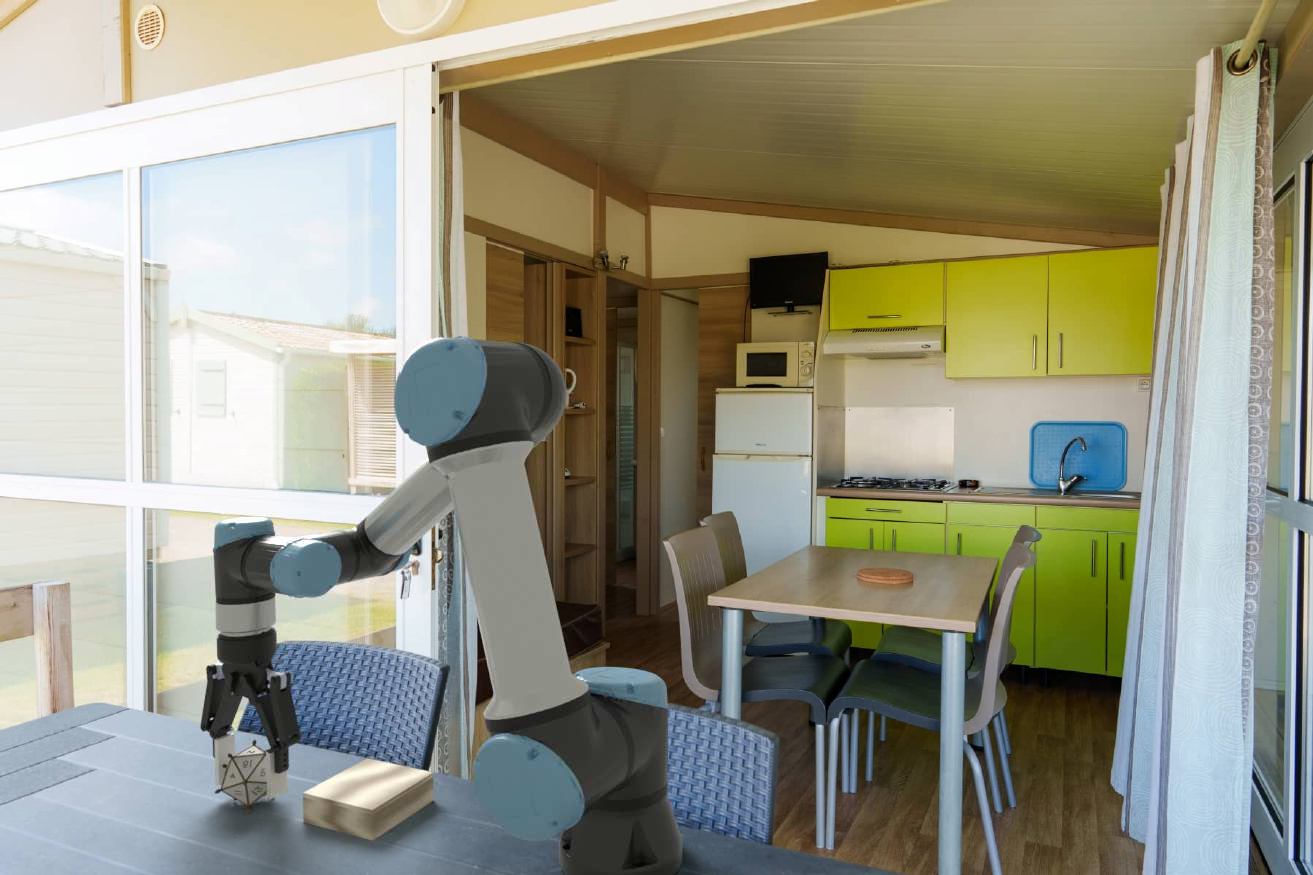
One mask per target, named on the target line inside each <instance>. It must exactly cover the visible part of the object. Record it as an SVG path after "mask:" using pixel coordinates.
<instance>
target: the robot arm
mask: <svg viewBox="0 0 1313 875" xmlns="http://www.w3.org/2000/svg"><path fill="white" fill-rule="evenodd" d="M566 403H567V383H566V381H565V377H564V374H563V372H562V370H561V368H560V366H559V365H558V364H557V362H556V361H555V359H554V358H552V357H551V356H550V355H549V354H548V353H547V352H545V351H544V350H542V349H540V348H539V347H537V346H535V345H532V344H528V343H523V342H509V341H508V342H507V341H506V342H505V341H497V340H488V339H487V340H486V339H477V338H471V337H469V336H459V335H458V336H456V337H436V338H435V337H434V338H432V339H430V340H427V341H424V342H423V343H421V344H419V345H418V346H416V347H415V348H414V349H413V350H412V351H411V353H409V355H408V356H407V357H406V359H405V360H404V362H403V366H402V369H401V370H400V371H398V374H397V377H396V380H395V384H394V391H393V406H394V413H395V417H396V421H397V423H398V425H399V427H400V429H401V431H402V432H403V433H404V434H405V435H408V438H409V439H410V440H411V441H412V442H414V443H417V444H418V445H421V446H425V449H426V453H427V458H426V459H425V460H424V461H423V462H422V463H421V464H420V465H419V466H418V467H417V468H416V469H415V470H413V471H412V472H411V473H410V474H409V475H408V476H407V477H406V478H405V479H404V480H403V481H402V482H401V483H400V484H399V485H398V486H397V487H396V488H395V489H394V490H393V491H391V493H390V494H389V495H388V496H387V497H386V498H385V499H384V500H382V502H381V503H379V504H378V505H377V507H375V508H374V510H372V511H371V512H370V513H369V514H368V515H367V516H366V517H365V518H363V520H361V521H360V522H359V523H358V524H357V525H356V526H353V527H350V528H343V529H339V530H338V529H337V530H332V531H327V532H319V533H313V534H307V535H301V536H300V535H299V536H277V535H276V531H275V527H274V522H273V521H272V520H271V519H270V518H268V517H263V516H249V517H248V516H246V517H244V516H243V517H234V518H233V517H232V518H228V519H223V520H221V521H219V522H217V523H216V525H215V527H214V535H213V536H214V541H213V544H214V545H213V548H212V553H213V569H214V590H215V592H214V593H215V629H216V631H218V633H217V635H216V657H217V660H218V662H215V663H211V664H208V665H207V666H206V668H205V669H206V670H205V672H206V680H207V682H206V688H205V694H204V700H203V708H202V714H201V720H200V721H201V722H200V727H199V728H200V730H201V731H202V732H203V733H204V732H208V733H209V734H208V735H209V737H211V738H212V755H213V759H214V771H215V773H214V774H215V778H214V780H215V781H214V782H215V786H218V787H221V785H222V782H223V778H224V774H225V771H226V768H223V766H222V765H223V764H226V765H228V763H229V761H230V759H231V758H229V757H228V754H232V756H235V755H236V743H235V742H236V741H235V740H236V739H235V738H236V736H235V735H236V734H235V733H234V732H232V731H234V729H235V728H234V727H233V726H232V725H233V723H234V721H235V718H236V715H237V712H238V710H239V708H240V705H241V702H242V700H243V698H246V699H248V702H249V704H250V705H251V706H253V707H254V708H255V711H256V714H257V716H258V719H259V722H260V724H261V726H262V729H263V731H264V734H265V737H266V740H267V741H268V744H269V746H270V747H269V748H268V749H269V750H268V749H266V750H267V751H266V750H265V751H266V771H267V795H266V798H267V799H271V800H272V799H273V798H276V797H278V796H280V795H281V794H284V793H286V792H288V770H289V768H290V757H289V752H290V750H289V748H290V747H291V746H294V745H296V744H298V743H300V742H301V739H302V737H301V733H300V727H299V724H298V723H299V722H298V718H297V713H296V709H295V704H294V697H293V694H292V690H291V689H292V688H291V682H292V675H291V674H292V673H291V672H290V671H289V670H286V671H283V672H279V671H276V670H275V669H274V666H273V662H272V659H273V657H274V656H275V654H276V653H277V651H278V641H277V639H278V637H277V629H276V628H275V627H274V625H275V624H276V623H277V614H276V613H277V612H276V594H279V595H285V596H288V597H291V598H292V597H293V598H295V599H296V598H297V599H303V598H314V599H315V598H319V597H322V596H324V595H326V594H327V593H328V592H329V591H330V590H331V589H333V588H334V587H335V586H340V585H343V584H346V583H351V582H357V581H361V580H362V581H363V580H366V579H370V578H371V579H372V578H375V577H376V578H377V577H384V576H387V575H389V574H391V573H393V572H396V571H399V570H401V569H403V568H405V566H406V565H407V564H409V562H410V557H411V555H412V553H413V546H414V545H415V544H416V543H417V542H419V540H421V539H422V538H423V537H424V536H425V535H426V534H427V533H429V532H430V530H432V529H433V528H434V527H435V526H437V524H438V523H440V522H442V520H443V519H444V518H445V517H446V516H447V515H449V514H450V513H451V512H452V511H453V510H454V516H455V520H456V521H455V522H456V524H457V530H458V534H459V539H460V544H461V549H462V552H463V553H462V554H463V558H464V563H465V566H466V572H467V576H468V581H469V585H470V591H471V595H472V598H473V603H474V604H473V605H474V609H475V613H476V617H477V622H478V626H479V632H480V635H481V636H480V637H481V640H482V645H483V650H484V654H485V658H486V663H487V669H488V672H489V678H490V683H491V686H492V692H493V694H492V698H491V700H490V701H489V703H488V704H487V706H486V708H485V709H484V711H483V718H484V724H485V728H486V734H487V738H488V739H486V741H485V742H484V743H482V744H481V746H480V748H479V749H478V750H477V752H476V758H475V759H474V761H473V765H472V781H473V786H474V788H475V793H476V795H477V798H478V801H479V802H480V804H481V807H483V809H484V811H485V812H486V814H487V815H488V817H489V818H490V819H491V820H492V822H494V823H495V824H497V825H499V826H500V827H501V828H502V829H503V831H504V832H506V833H508V834H509V835H511V836H513V837H515V838H516V839H517V838H518V839H520V840H523V841H529V842H541V841H546V840H549V839H552V838H553V837H555V836H557V835H558V834H560V833H561V834H560V837H559V841H558V842H559V843H558V863H559V868H560V870H561V872H562V871H563V872H562V873H563V875H675V874H676V873H677V872H678V870H680V867H681V865H682V863H683V839H682V834H681V832H680V829H679V825H678V822H677V818H676V816H675V814H674V810H673V807H672V805H671V804H672V803H671V800H670V798H669V793H668V792H669V788H668V787H669V786H668V784H669V782H668V781H669V780H668V779H669V775H668V774H669V770H668V769H669V767H668V766H669V763H668V762H669V710H670V705H669V704H668V692H667V690H668V689H667V685H666V682H665V681H664V680H663V678H662V677H660V676H659V675H657V674H655V673H653V672H650V671H647V670H642V669H637V668H630V667H621V666H618V667H616V666H601V667H600V666H598V667H590V668H584V669H582V670H578V671H576V672H575V673H574V674H573V673H572V671H571V666H570V661H569V656H568V653H567V648H566V644H565V641H564V640H565V639H564V635H563V631H562V626H561V621H560V617H559V613H558V609H557V604H556V600H555V595H554V591H553V587H552V582H551V578H550V573H549V568H548V564H547V560H546V555H545V550H544V546H543V542H542V538H541V532H540V528H539V525H538V520H537V514H536V511H535V506H534V502H533V497H532V492H531V488H530V484H529V479H528V474H527V470H526V466H525V462H526V459H527V457H528V456H529V455H530V453H531V451H532V450H533V449H534V448H536V447H537V446H538V445H539V444H540V443H541V442H543V440H544V439H545V438H546V437H547V436H548V435H550V433H551V432H553V430H554V429H555V427H556V426H557V424H558V423H559V421H560V420H561V419H562V418H561V417H562V416H563V413H564V410H565V409H566V408H565V407H566ZM264 693H265V694H264ZM229 732H230V733H229Z"/></svg>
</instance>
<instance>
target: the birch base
mask: <svg viewBox="0 0 1313 875" xmlns="http://www.w3.org/2000/svg"><path fill="white" fill-rule="evenodd" d="M434 793H435V792H434V772H433V771H432V772H431V771H427V770H422V769H418V768H414V767H413V768H412V767H409V766H405V765H400V764H395V763H391V762H386V761H382V760H376V759H371V758H365V759H363V760H361V761H359V762H358V763H356V764H354V765H352V766H350V767H348V768H346V769H345V770H342V771H341V772H339V773H337V774H334V776H331V777H329V778H327V779H325V780H324V781H323V782H321V783H318V784H317V785H314V786H313V787H311V788H309V789H307V790H305V791H304V792H302V818H303V821H302V822H303V823H305V824H309V825H312V826H313V825H314V826H316V827H320V828H323V829H328V830H332V831H336V832H339V833H343V834H346V835H351V836H353V837H358V838H361V839H366V840H368V841H375V840H376V839H378V838H379V837H381V836H383V835H384V834H385V833H387V832H389V831H390V830H391V829H394V827H396V826H398V825H399V824H401V823H402V822H404V821H405V820H407V819H408V818H410V817H411V816H413V815H414V814H416V813H417V812H419V811H420V810H421V809H423V808H425V807H426V806H428V805H430V804H431V803H432V802H434V800H435V799H434V798H435V796H434Z"/></svg>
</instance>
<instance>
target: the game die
mask: <svg viewBox="0 0 1313 875" xmlns="http://www.w3.org/2000/svg"><path fill="white" fill-rule="evenodd" d="M269 749H270V748H268V749H265V750H264V749H262V748H261V747H260V746H257V740H256V739H253V741H252V746H250V747H248V748H246V749H244V750H242V751H240V752H239V753H237V754H236V753H235V756H232V754H228V757H229V758H231V759H230V761H229V763H228V765H226V764H223V765H222V766H223V768H226V771H225V774H224V778H223V782H222V785H220V788H218V789H216V790H215V791H214V794H217V795H218V794H220V793H221V792H222V793H224V794H226V795H227V796H229V797H231V798H232V799H233V801H234V802H235V801H238V802H240V803H241V804H243V805H244V806H247V807H246V810H245V811H246V813H249V812H250V811H251V810H252V809H251V806H252V805H253V804H255V803H257V802H258V801H260V800H261V799H263V798H265V796H266V797H267V771H266V751H267V750H269Z"/></svg>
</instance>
